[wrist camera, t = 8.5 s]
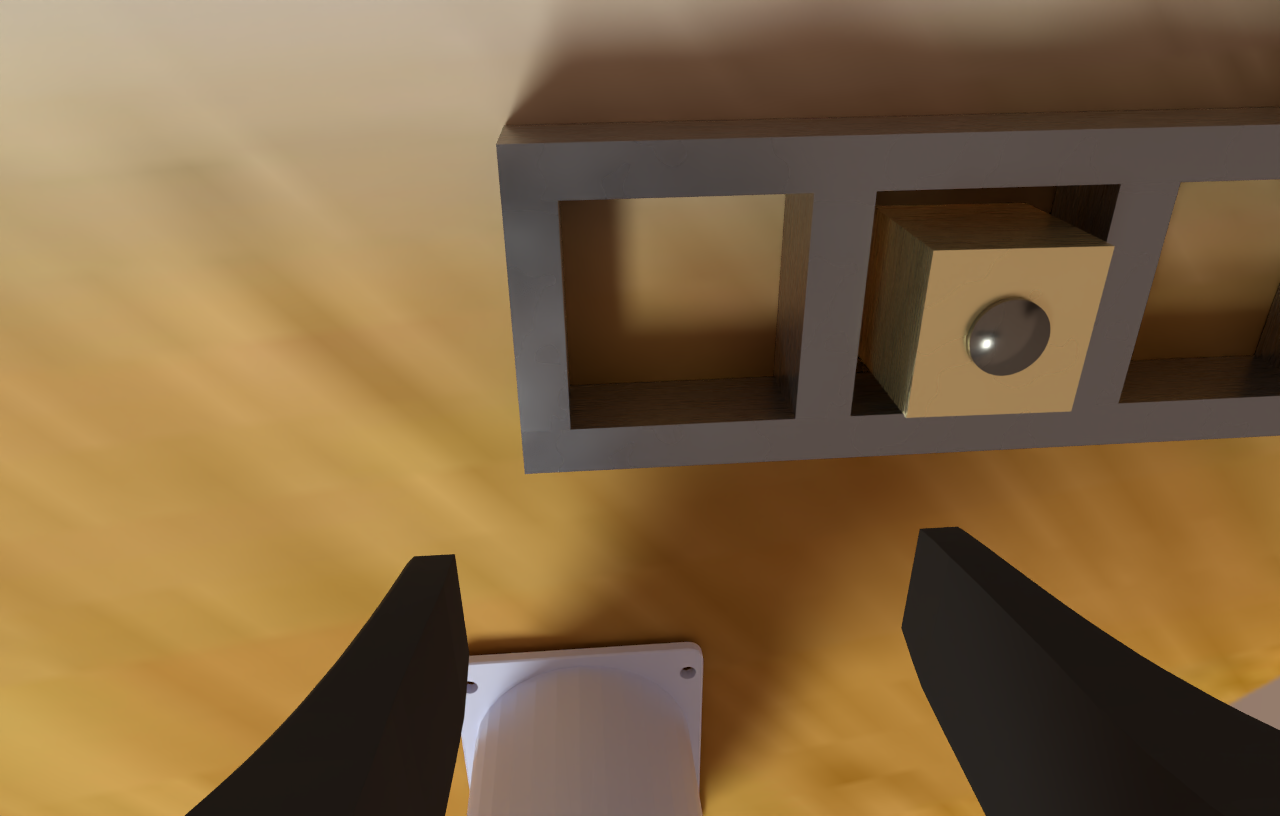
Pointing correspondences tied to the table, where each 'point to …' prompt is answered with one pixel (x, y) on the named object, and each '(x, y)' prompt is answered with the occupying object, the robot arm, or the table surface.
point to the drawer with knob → (979, 308)
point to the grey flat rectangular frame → (837, 271)
